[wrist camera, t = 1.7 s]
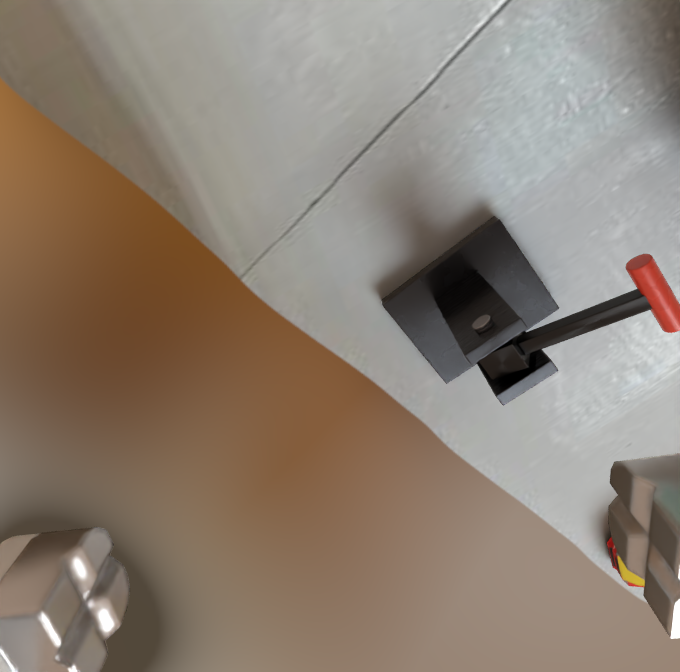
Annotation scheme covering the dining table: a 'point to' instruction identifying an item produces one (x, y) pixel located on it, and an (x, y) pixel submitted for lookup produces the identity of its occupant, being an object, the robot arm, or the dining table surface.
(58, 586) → the robot arm
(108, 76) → the dining table surface
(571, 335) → the lever
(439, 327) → the bracket
